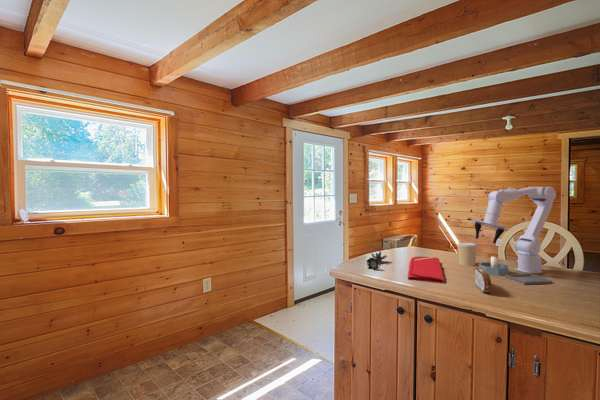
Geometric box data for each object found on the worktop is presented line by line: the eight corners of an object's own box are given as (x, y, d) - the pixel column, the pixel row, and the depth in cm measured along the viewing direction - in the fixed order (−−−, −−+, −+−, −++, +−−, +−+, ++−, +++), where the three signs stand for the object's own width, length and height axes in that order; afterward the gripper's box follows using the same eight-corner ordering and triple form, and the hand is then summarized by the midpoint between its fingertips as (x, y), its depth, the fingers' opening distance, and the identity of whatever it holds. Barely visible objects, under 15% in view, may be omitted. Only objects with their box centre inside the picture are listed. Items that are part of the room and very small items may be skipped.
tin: (492, 295, 120) (492, 274, 120) (483, 295, 121) (483, 274, 121) (481, 284, 134) (481, 265, 134) (473, 283, 135) (473, 265, 135)
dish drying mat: (407, 281, 142) (407, 273, 141) (410, 261, 180) (410, 255, 179) (444, 284, 136) (444, 276, 136) (439, 263, 174) (439, 257, 174)
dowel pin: (494, 271, 154) (494, 256, 153) (497, 272, 151) (498, 257, 151) (489, 271, 153) (489, 256, 153) (493, 272, 151) (493, 257, 150)
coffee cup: (471, 263, 172) (472, 242, 171) (480, 267, 163) (480, 245, 162) (454, 263, 173) (454, 242, 172) (461, 267, 164) (461, 245, 163)
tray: (530, 277, 145) (530, 273, 145) (551, 284, 134) (551, 280, 134) (505, 278, 144) (505, 274, 144) (524, 285, 133) (524, 281, 133)
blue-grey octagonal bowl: (495, 269, 159) (495, 261, 159) (514, 276, 147) (515, 267, 147) (473, 270, 158) (473, 262, 157) (491, 277, 145) (491, 268, 145)
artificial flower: (363, 271, 161) (359, 253, 163) (377, 267, 180) (373, 250, 182) (379, 269, 156) (375, 250, 159) (392, 265, 175) (388, 248, 177)
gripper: (477, 210, 150) (470, 236, 150) (511, 218, 145) (504, 245, 145) (475, 211, 157) (468, 236, 157) (507, 218, 151) (500, 245, 151)
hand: (485, 240), depth 151 cm, fingers open, 7 cm apart
